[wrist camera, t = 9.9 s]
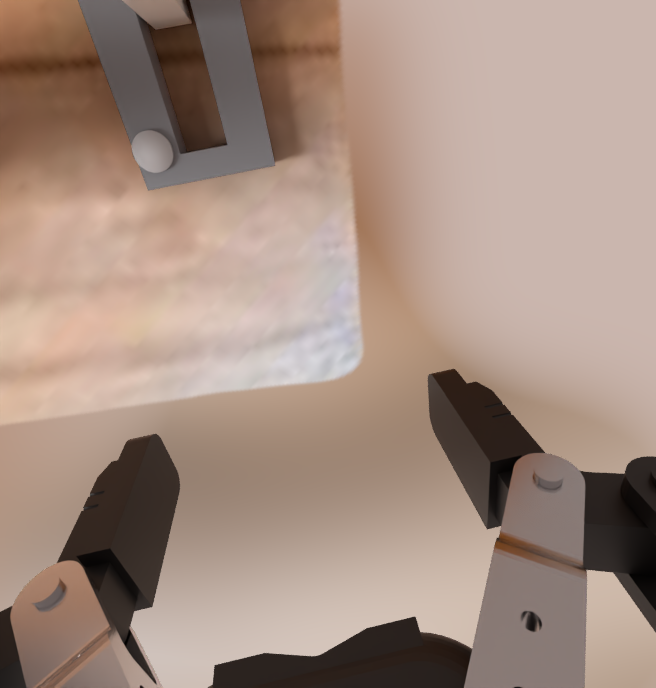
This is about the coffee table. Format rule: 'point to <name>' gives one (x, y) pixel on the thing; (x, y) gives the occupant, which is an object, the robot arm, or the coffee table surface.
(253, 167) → the console
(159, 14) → the fader tab
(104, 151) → the coffee table surface
